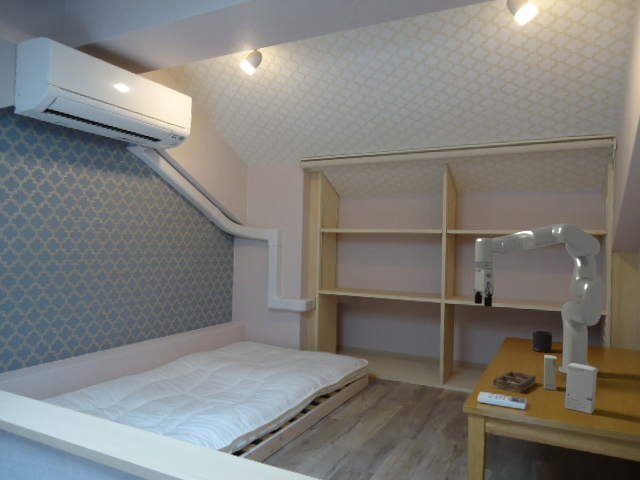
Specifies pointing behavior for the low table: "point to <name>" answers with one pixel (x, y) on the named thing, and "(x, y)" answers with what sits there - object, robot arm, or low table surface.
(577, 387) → the skincare box
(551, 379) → the skincare box
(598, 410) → the low table surface
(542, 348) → the pen holder
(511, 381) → the two-compartment wooden shelf
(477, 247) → the robot arm
